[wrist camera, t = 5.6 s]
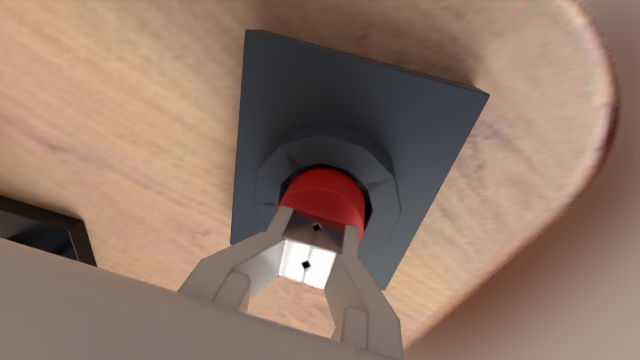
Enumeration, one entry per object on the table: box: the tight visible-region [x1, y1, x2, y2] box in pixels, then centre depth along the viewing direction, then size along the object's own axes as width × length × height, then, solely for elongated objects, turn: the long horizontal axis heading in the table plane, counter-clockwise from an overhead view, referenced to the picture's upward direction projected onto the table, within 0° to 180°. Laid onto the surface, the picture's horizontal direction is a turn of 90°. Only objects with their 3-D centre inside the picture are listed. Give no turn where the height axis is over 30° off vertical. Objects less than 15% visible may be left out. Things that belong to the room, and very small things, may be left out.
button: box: [276, 168, 365, 245], centre depth 11 cm, size 4×4×2 cm
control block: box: [230, 29, 490, 290], centre depth 13 cm, size 12×10×4 cm
